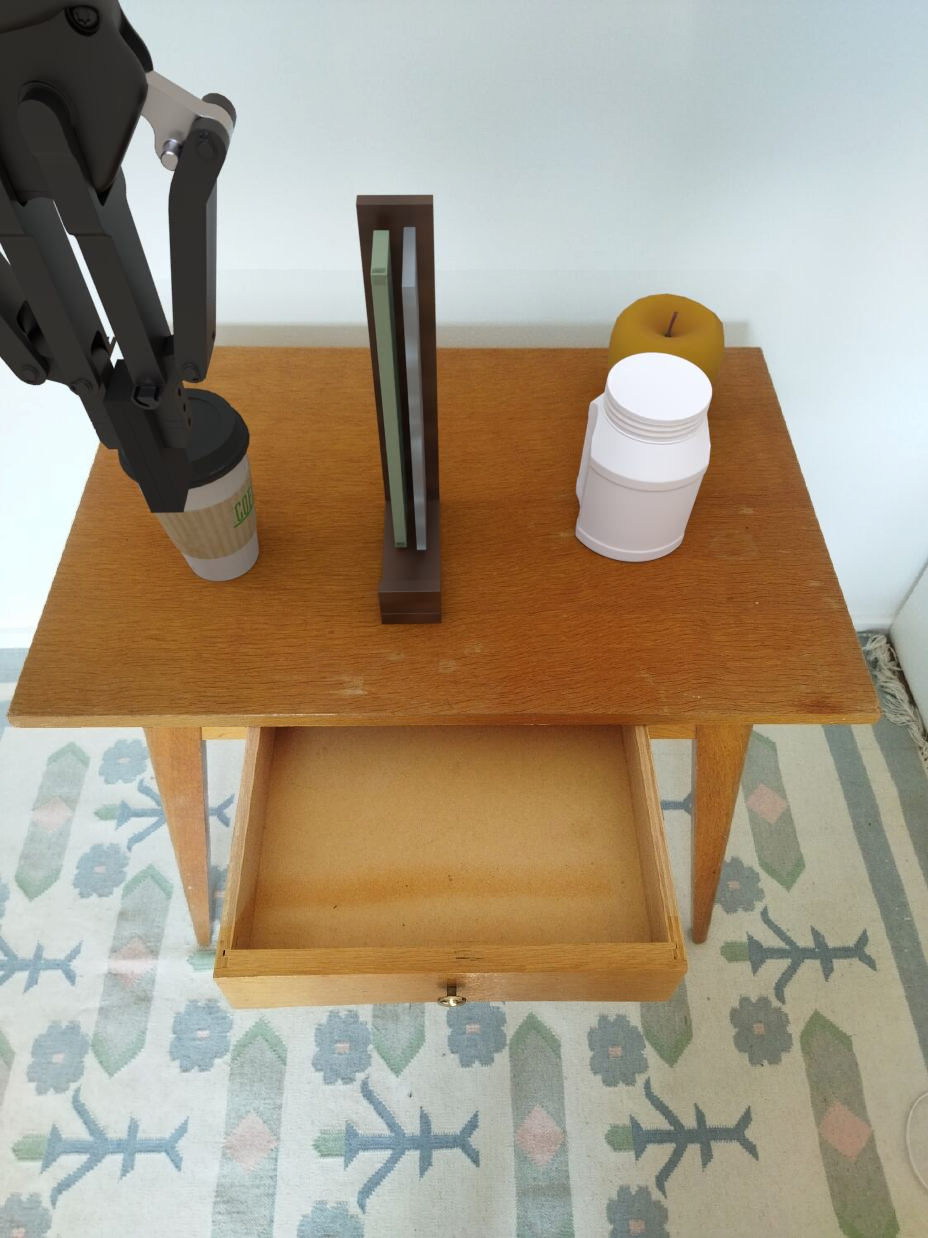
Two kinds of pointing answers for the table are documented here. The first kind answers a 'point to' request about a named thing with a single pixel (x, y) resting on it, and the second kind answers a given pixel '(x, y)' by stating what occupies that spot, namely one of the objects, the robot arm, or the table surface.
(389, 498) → the window frame
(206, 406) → the coffee cup
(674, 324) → the apple
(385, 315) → the window sash
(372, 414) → the table surface
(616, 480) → the jar
